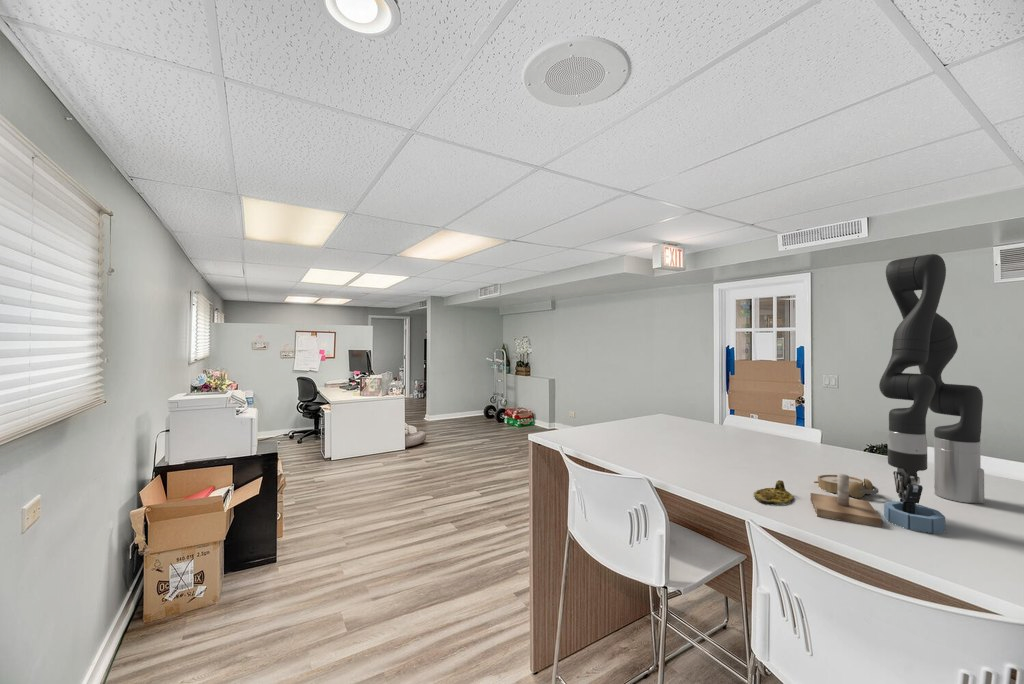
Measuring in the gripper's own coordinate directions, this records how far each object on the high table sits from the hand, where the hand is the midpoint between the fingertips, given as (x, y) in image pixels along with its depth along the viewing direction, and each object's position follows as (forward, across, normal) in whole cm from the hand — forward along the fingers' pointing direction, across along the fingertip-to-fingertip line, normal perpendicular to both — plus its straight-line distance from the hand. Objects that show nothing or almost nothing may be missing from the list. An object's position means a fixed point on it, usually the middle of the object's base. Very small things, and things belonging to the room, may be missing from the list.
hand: (907, 514), depth 108 cm
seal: (+1, -1, +30) cm, 30 cm away
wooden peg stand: (+1, -4, +14) cm, 15 cm away
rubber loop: (+1, -4, 0) cm, 5 cm away
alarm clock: (+1, +15, +10) cm, 18 cm away
